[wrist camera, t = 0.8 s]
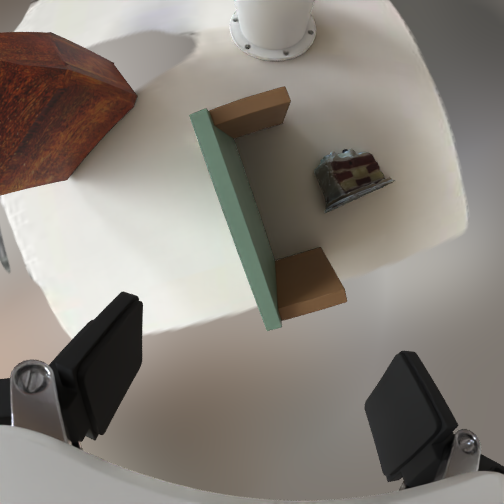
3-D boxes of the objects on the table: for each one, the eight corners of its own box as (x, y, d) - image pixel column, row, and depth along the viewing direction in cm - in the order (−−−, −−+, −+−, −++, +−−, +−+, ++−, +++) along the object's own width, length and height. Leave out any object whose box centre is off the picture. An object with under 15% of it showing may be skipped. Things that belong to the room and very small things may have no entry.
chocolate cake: (377, 137, 35) (336, 136, 28) (399, 180, 35) (364, 191, 28) (333, 164, 43) (285, 172, 36) (352, 203, 43) (308, 219, 36)
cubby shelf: (219, 132, 36) (188, 114, 21) (279, 113, 35) (286, 82, 20) (267, 272, 42) (267, 331, 28) (323, 256, 41) (350, 307, 26)
